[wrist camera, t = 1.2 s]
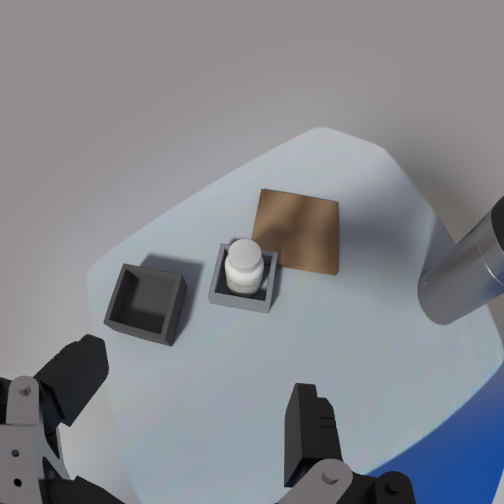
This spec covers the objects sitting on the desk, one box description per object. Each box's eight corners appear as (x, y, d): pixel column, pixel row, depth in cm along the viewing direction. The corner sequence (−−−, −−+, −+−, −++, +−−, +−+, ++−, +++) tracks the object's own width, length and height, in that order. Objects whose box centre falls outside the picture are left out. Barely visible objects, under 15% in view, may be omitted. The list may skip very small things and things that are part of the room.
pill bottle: (239, 260, 37) (238, 227, 30) (267, 277, 36) (274, 247, 29) (219, 286, 35) (214, 257, 28) (248, 304, 34) (251, 279, 27)
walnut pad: (336, 206, 42) (337, 202, 42) (335, 275, 37) (338, 272, 36) (260, 193, 43) (261, 189, 42) (247, 261, 37) (247, 257, 36)
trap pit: (187, 286, 35) (182, 275, 32) (171, 346, 31) (164, 340, 28) (132, 275, 35) (123, 263, 32) (114, 330, 31) (103, 323, 28)
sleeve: (275, 261, 37) (277, 252, 35) (267, 313, 34) (269, 306, 32) (222, 252, 38) (221, 243, 35) (210, 303, 34) (208, 296, 32)
